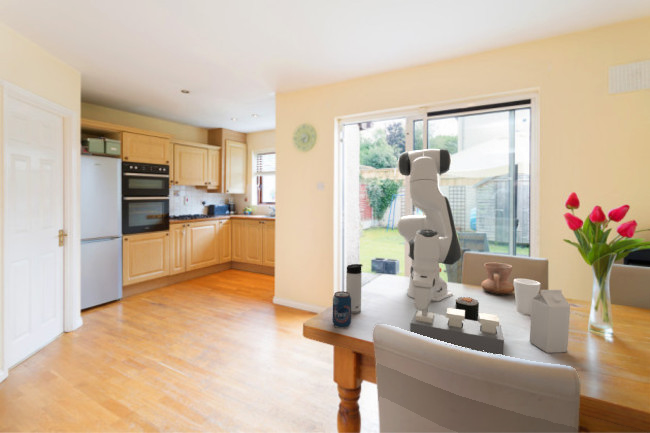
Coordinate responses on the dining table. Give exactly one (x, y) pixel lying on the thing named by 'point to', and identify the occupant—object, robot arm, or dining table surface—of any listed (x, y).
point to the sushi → (468, 307)
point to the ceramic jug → (498, 278)
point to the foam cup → (525, 294)
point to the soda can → (341, 309)
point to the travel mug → (354, 286)
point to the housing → (460, 334)
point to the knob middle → (455, 317)
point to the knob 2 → (488, 322)
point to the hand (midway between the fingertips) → (424, 314)
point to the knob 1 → (425, 317)
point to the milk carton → (550, 321)
